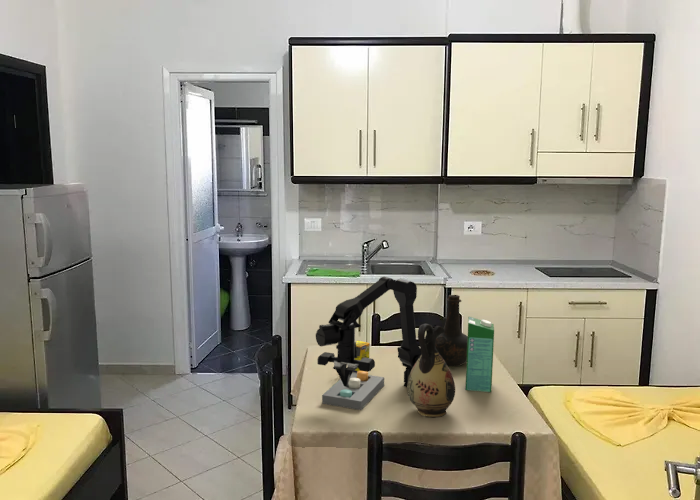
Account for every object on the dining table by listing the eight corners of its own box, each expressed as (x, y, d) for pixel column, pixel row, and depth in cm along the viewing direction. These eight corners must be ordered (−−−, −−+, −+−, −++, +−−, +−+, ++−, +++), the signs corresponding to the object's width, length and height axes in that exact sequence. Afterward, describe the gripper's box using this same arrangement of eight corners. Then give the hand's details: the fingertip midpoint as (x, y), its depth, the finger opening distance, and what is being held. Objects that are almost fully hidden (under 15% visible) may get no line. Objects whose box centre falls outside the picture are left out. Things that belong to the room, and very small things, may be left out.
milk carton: (491, 392, 213) (494, 324, 210) (465, 390, 215) (468, 322, 211) (490, 383, 222) (493, 317, 218) (465, 381, 224) (468, 315, 220)
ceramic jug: (423, 398, 207) (425, 314, 203) (462, 410, 198) (466, 322, 193) (394, 414, 194) (396, 324, 190) (435, 428, 185) (438, 333, 180)
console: (384, 385, 219) (384, 377, 219) (361, 410, 197) (361, 401, 197) (348, 379, 224) (348, 371, 224) (322, 403, 202) (322, 395, 202)
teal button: (353, 400, 204) (353, 390, 204) (349, 404, 201) (349, 394, 200) (342, 398, 206) (342, 388, 205) (338, 402, 202) (338, 392, 202)
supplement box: (360, 374, 230) (361, 346, 229) (348, 370, 234) (348, 343, 232) (369, 369, 235) (370, 342, 233) (357, 366, 238) (357, 340, 237)
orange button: (369, 380, 219) (369, 371, 218) (365, 384, 215) (365, 374, 215) (359, 378, 220) (359, 369, 220) (355, 382, 217) (355, 373, 216)
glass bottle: (419, 361, 245) (421, 294, 241) (447, 352, 257) (449, 288, 253) (454, 373, 232) (456, 302, 228) (481, 363, 244) (484, 295, 239)
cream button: (361, 387, 212) (361, 378, 211) (357, 391, 208) (357, 382, 207) (351, 386, 213) (351, 377, 212) (347, 390, 209) (347, 380, 209)
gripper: (380, 338, 204) (379, 382, 206) (330, 331, 211) (329, 374, 213) (369, 347, 194) (368, 393, 196) (316, 340, 201) (316, 385, 203)
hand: (345, 386), depth 202 cm, fingers closed
